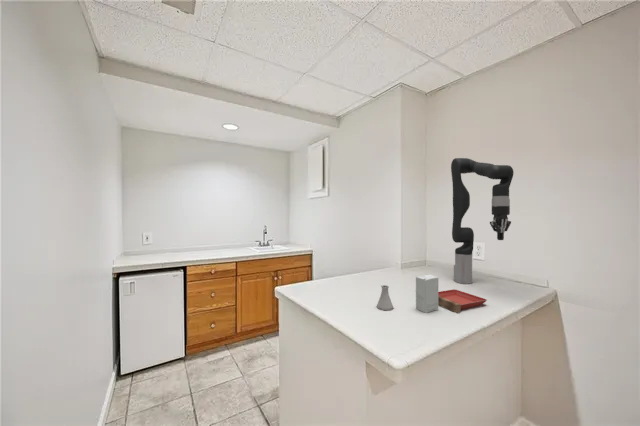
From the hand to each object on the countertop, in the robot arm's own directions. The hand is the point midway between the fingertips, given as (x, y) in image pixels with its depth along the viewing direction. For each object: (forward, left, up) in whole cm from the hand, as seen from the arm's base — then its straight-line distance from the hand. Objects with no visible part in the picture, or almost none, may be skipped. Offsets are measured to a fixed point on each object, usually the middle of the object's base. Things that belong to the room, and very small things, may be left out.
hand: (500, 240), depth 134 cm
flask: (-11, -61, -29) cm, 69 cm away
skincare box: (-2, -45, -29) cm, 54 cm away
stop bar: (-4, -35, -29) cm, 46 cm away
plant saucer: (-4, -25, -30) cm, 39 cm away
